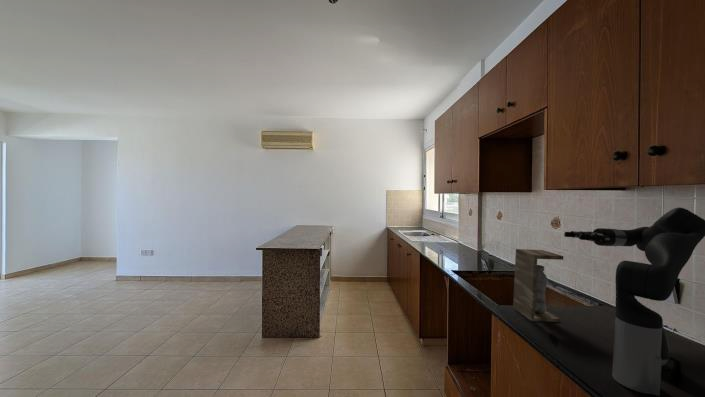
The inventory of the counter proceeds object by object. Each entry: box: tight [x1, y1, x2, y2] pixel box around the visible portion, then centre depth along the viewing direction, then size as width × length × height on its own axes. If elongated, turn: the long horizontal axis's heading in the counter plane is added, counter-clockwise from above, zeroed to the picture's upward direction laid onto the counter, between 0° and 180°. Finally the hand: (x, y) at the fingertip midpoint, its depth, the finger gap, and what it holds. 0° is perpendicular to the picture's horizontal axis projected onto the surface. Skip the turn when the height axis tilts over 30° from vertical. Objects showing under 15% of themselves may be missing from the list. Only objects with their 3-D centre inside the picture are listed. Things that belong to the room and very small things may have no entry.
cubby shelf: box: [512, 248, 564, 323], centre depth 127 cm, size 12×13×27 cm
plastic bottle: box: [535, 264, 548, 313], centre depth 127 cm, size 6×7×20 cm
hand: (572, 235), depth 127 cm, fingers open, 8 cm apart
